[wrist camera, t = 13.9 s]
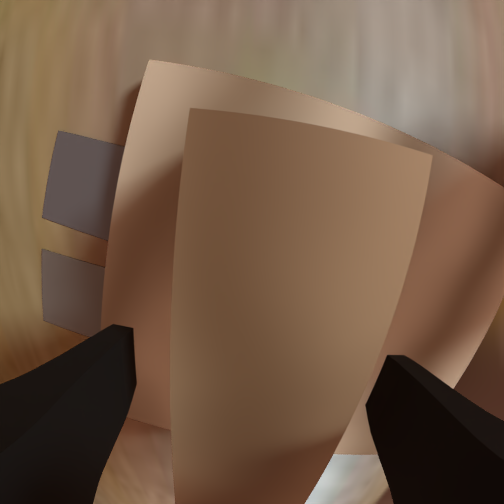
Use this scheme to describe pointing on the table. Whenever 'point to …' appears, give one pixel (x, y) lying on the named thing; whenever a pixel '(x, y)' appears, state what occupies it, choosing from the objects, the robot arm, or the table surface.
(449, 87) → the table surface
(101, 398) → the robot arm
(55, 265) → the charcoal chip
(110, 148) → the charcoal chip
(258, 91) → the birch board
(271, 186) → the block
